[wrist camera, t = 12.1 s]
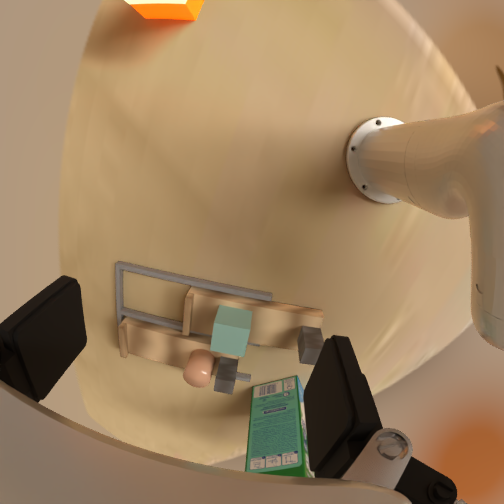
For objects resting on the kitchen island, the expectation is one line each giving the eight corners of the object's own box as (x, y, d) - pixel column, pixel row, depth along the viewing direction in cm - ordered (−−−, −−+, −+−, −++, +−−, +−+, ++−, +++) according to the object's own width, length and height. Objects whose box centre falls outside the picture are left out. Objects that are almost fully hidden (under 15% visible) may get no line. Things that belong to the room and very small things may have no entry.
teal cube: (252, 311, 43) (250, 329, 38) (246, 337, 45) (244, 357, 40) (219, 304, 43) (213, 322, 38) (215, 331, 45) (210, 350, 40)
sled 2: (321, 310, 45) (330, 339, 38) (309, 343, 48) (315, 374, 40) (191, 285, 45) (177, 311, 38) (188, 321, 47) (175, 349, 40)
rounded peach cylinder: (216, 352, 46) (211, 371, 42) (213, 370, 48) (208, 389, 43) (191, 346, 46) (183, 365, 42) (189, 364, 48) (182, 383, 43)
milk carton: (309, 402, 53) (319, 509, 29) (267, 412, 54) (263, 516, 31) (297, 374, 50) (306, 493, 27) (251, 386, 52) (241, 500, 28)
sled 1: (241, 342, 48) (236, 373, 41) (235, 370, 50) (230, 401, 43) (127, 315, 48) (107, 340, 40) (128, 344, 50) (111, 370, 43)
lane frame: (272, 293, 45) (272, 296, 44) (250, 377, 51) (249, 381, 50) (118, 260, 45) (115, 263, 44) (122, 346, 51) (119, 350, 50)
